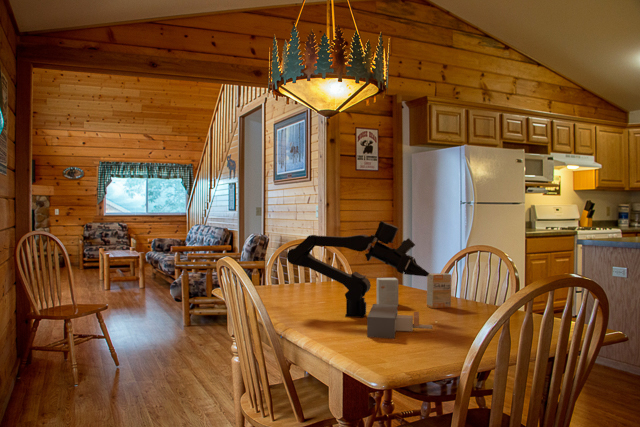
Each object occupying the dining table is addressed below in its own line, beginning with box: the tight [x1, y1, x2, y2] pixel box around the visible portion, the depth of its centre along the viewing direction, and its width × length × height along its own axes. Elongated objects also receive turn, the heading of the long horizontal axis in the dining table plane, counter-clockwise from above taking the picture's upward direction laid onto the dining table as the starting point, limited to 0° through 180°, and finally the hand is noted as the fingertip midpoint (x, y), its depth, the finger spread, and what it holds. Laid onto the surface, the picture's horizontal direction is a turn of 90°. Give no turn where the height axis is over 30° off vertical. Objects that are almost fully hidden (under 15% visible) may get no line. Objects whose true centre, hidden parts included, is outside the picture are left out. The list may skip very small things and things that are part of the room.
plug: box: [396, 314, 434, 332], centre depth 149 cm, size 11×4×4 cm, turn 79°
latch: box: [413, 311, 420, 326], centre depth 149 cm, size 2×8×3 cm, turn 169°
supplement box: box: [426, 272, 452, 309], centre depth 187 cm, size 8×5×13 cm, turn 105°
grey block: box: [366, 303, 399, 339], centre depth 151 cm, size 8×20×6 cm, turn 169°
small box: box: [376, 277, 399, 307], centre depth 190 cm, size 8×6×10 cm
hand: (428, 274), depth 163 cm, fingers open, 9 cm apart
